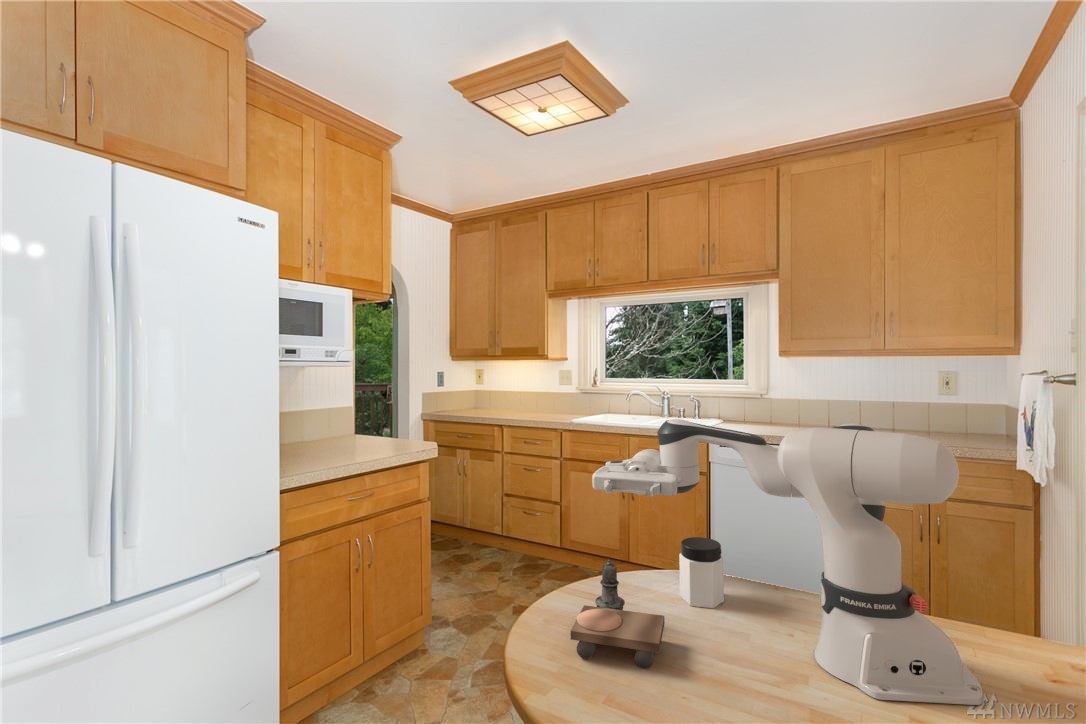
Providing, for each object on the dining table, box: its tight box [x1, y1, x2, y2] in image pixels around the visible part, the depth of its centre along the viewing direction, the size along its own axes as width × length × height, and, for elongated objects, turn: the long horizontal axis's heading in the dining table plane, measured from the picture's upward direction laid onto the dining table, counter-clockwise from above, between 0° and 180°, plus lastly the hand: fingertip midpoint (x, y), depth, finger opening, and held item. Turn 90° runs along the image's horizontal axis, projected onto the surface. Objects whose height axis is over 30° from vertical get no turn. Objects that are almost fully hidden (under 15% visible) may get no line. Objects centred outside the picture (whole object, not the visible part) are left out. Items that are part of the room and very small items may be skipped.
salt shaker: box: [594, 558, 626, 610], centre depth 105 cm, size 6×6×12 cm
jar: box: [678, 536, 725, 609], centre depth 113 cm, size 9×8×12 cm
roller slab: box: [570, 604, 665, 670], centre depth 95 cm, size 15×10×5 cm, turn 72°
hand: (628, 491), depth 121 cm, fingers open, 8 cm apart
